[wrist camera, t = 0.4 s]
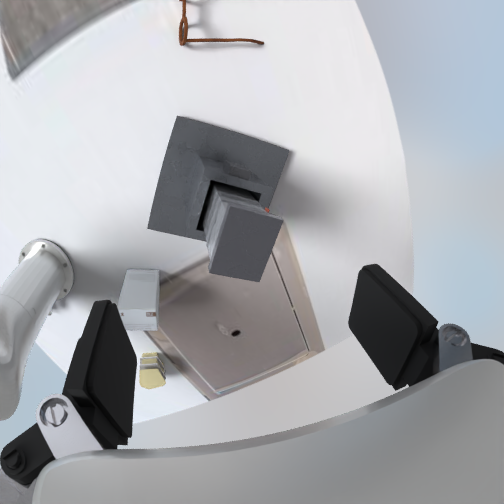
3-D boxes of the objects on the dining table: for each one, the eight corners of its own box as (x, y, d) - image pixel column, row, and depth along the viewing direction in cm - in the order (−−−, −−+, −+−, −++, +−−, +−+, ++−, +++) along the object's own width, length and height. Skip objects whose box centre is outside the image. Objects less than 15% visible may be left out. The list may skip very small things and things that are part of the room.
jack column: (226, 210, 43) (259, 282, 25) (197, 203, 42) (208, 272, 23) (238, 174, 41) (284, 220, 23) (208, 165, 40) (229, 206, 21)
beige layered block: (127, 347, 54) (124, 365, 49) (166, 344, 55) (166, 362, 51) (139, 375, 58) (138, 393, 53) (175, 373, 60) (176, 391, 55)
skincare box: (129, 288, 47) (118, 332, 37) (126, 266, 46) (114, 308, 35) (161, 289, 49) (158, 333, 38) (160, 267, 47) (156, 309, 37)
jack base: (250, 247, 49) (272, 290, 38) (148, 225, 43) (136, 264, 32) (286, 149, 43) (324, 161, 31) (177, 116, 37) (173, 112, 25)
